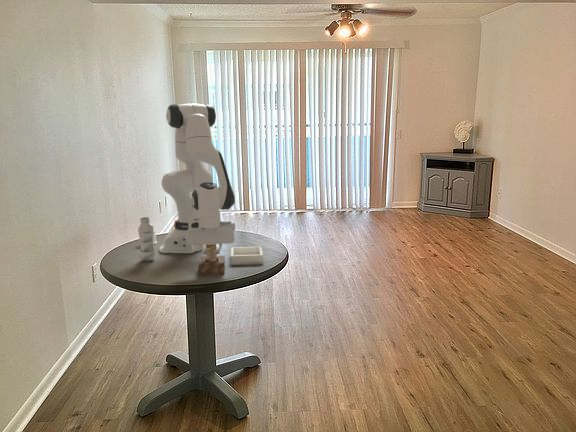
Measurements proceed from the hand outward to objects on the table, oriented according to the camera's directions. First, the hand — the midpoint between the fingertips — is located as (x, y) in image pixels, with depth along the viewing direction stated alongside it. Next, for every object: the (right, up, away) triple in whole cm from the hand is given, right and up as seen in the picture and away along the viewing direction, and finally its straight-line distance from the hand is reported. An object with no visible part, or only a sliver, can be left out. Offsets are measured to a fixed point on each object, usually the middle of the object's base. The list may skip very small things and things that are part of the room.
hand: (211, 253), depth 201 cm
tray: (+14, -4, +17) cm, 22 cm away
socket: (0, -8, +2) cm, 8 cm away
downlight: (-39, +2, +45) cm, 59 cm away
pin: (0, -7, +2) cm, 7 cm away
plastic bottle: (-32, -5, +16) cm, 36 cm away
